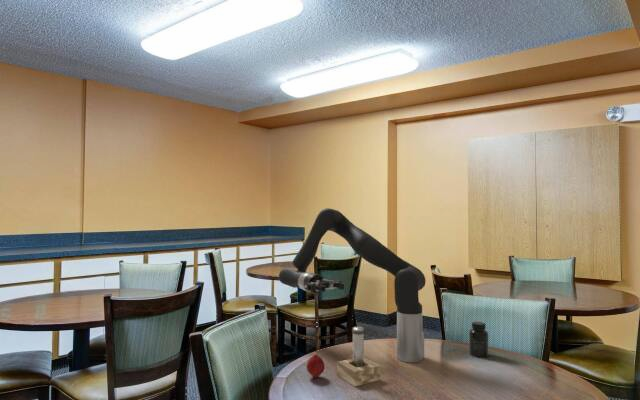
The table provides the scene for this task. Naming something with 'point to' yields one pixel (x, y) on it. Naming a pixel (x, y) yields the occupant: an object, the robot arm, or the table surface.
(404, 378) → the table surface
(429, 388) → the table surface
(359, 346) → the cylinder
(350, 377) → the square ring gauge
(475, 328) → the supplement bottle
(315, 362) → the onion
